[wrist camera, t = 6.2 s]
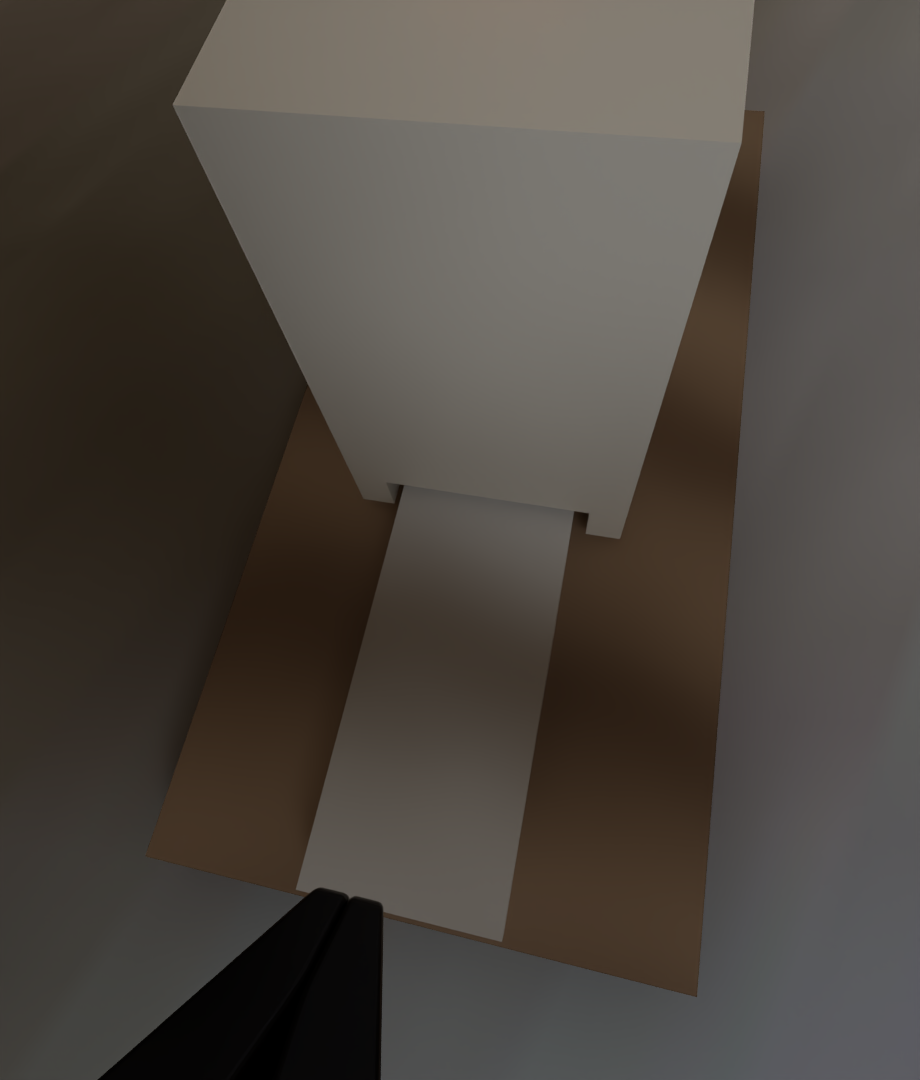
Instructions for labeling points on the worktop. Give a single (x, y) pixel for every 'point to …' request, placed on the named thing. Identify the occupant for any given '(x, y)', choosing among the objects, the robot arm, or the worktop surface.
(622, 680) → the rail board
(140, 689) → the worktop surface
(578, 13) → the block
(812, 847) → the worktop surface
